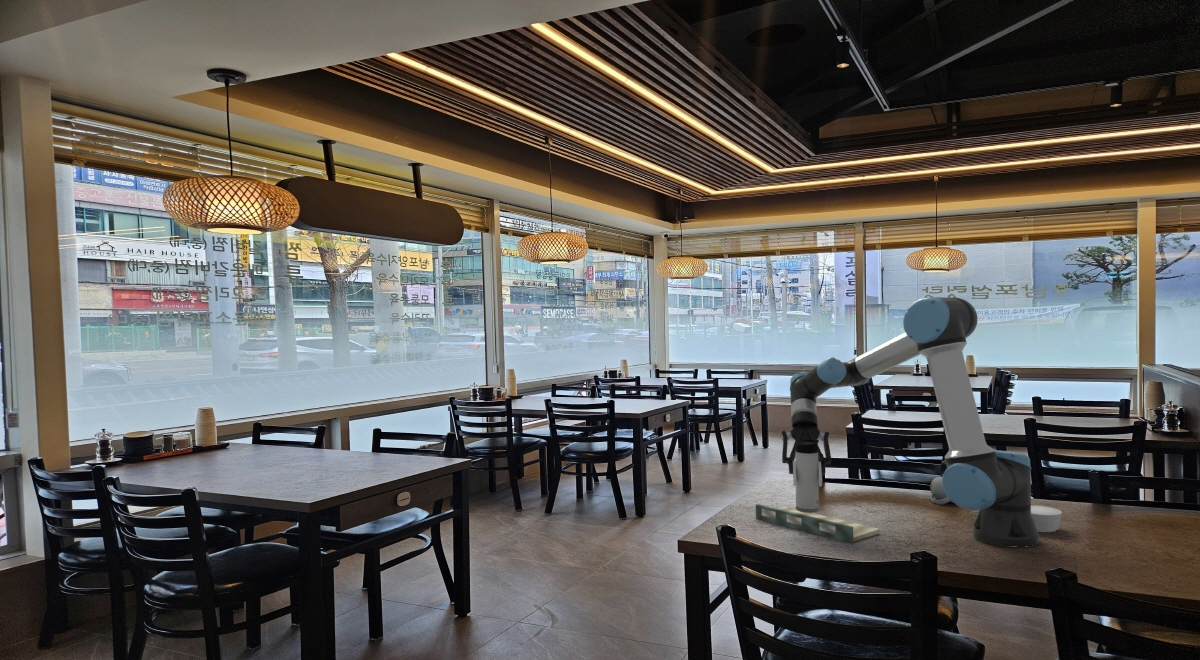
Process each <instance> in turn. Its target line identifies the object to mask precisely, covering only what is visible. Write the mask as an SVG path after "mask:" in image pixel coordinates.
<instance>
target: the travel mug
mask: <svg viewBox="0 0 1200 660" xmlns="http://www.w3.org/2000/svg"><path fill="white" fill-rule="evenodd" d="M818 446H819V439H813V440H801V441H798V442H796V451H795V453H796V454H795V460H794V461H796V486H795V509H796V510H798V511H800V512H805V513H814V514H815V513H817V512H819V510H820V509H819V508H820V506H819V505H820V504H819V503H820V501H819V500H820V499H819V493H820V492H819V490H820V489H819V488H820V486H819V479H818V462H819V461H818Z"/></svg>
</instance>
